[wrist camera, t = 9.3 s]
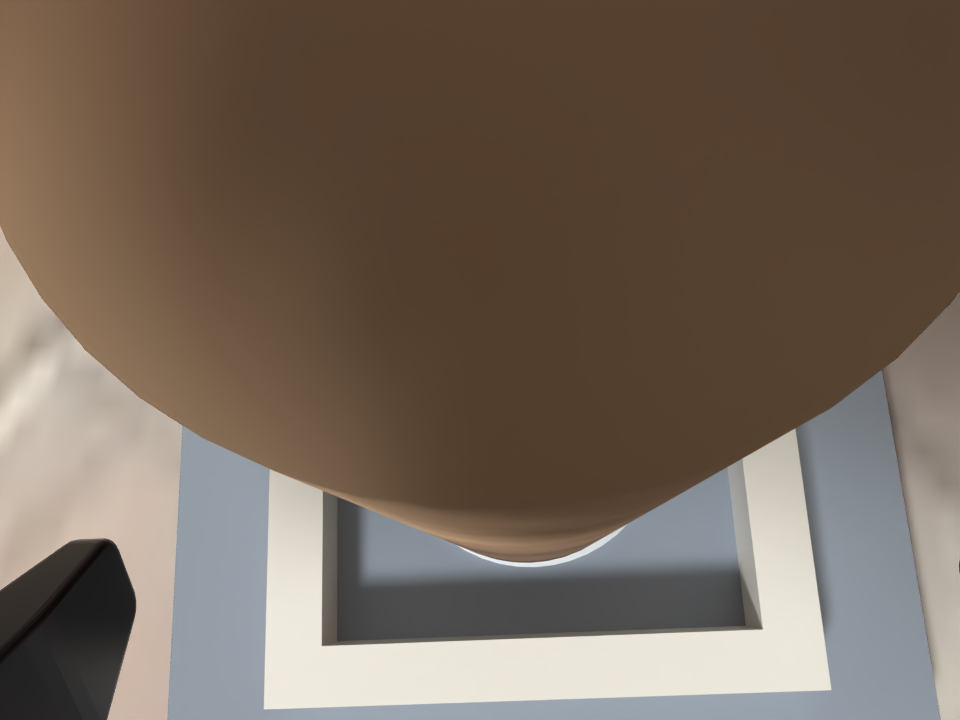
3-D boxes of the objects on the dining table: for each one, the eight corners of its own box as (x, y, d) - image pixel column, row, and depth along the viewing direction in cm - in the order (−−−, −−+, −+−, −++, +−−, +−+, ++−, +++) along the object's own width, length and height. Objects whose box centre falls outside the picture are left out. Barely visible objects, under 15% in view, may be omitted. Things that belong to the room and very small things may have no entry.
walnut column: (664, 557, 16) (1190, 476, 3) (399, 568, 16) (-108, 534, 3) (640, 304, 17) (946, -483, 4) (396, 318, 17) (19, -386, 5)
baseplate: (915, 737, 16) (981, 765, 13) (190, 760, 16) (134, 789, 14) (788, -60, 20) (820, -142, 18) (225, -16, 21) (187, -89, 19)
